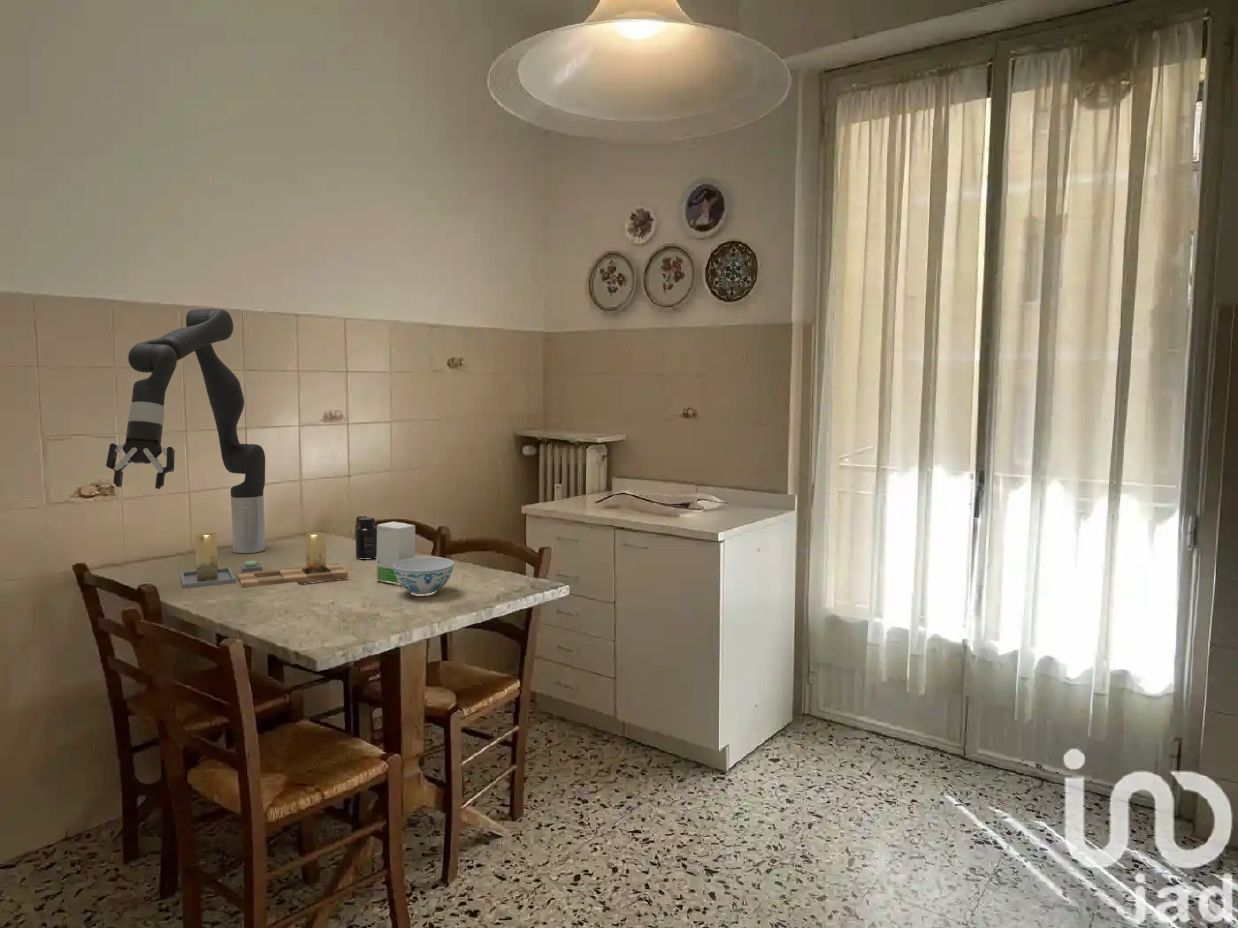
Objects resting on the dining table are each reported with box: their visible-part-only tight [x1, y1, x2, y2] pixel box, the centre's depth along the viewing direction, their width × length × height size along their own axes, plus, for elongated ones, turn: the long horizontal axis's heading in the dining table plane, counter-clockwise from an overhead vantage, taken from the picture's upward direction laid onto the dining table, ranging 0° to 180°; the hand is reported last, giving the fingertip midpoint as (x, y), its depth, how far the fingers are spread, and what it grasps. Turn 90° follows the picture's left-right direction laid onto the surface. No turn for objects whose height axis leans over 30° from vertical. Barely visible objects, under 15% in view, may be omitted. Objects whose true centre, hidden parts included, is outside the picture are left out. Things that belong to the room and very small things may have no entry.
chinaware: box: [393, 556, 455, 594], centre depth 208 cm, size 15×15×8 cm
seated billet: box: [304, 531, 327, 574], centre depth 222 cm, size 5×5×12 cm
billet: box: [194, 532, 219, 582], centre depth 215 cm, size 5×5×12 cm
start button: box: [244, 560, 258, 567], centre depth 224 cm, size 3×3×1 cm
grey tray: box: [180, 567, 236, 589], centre depth 216 cm, size 14×12×2 cm
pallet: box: [236, 562, 349, 588], centre depth 220 cm, size 12×26×2 cm, turn 120°
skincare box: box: [375, 521, 416, 583], centre depth 219 cm, size 8×7×16 cm
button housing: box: [239, 562, 263, 573], centre depth 225 cm, size 5×5×2 cm
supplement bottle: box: [354, 516, 377, 559], centre depth 247 cm, size 7×7×12 cm
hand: (138, 487), depth 199 cm, fingers open, 8 cm apart
